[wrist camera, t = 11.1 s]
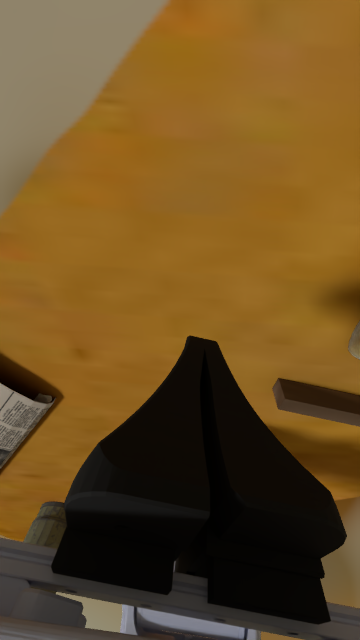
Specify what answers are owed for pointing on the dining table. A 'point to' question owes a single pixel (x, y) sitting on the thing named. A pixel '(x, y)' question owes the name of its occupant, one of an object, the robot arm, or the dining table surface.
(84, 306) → the dining table surface
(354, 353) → the pastry
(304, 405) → the grey u-shaped frame
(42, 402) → the newspaper
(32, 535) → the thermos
